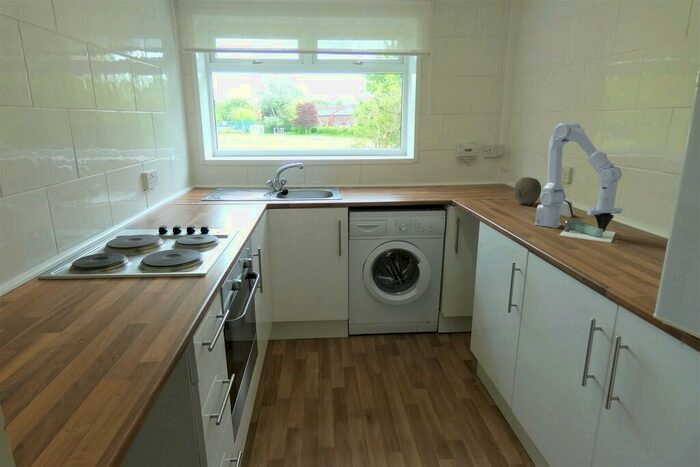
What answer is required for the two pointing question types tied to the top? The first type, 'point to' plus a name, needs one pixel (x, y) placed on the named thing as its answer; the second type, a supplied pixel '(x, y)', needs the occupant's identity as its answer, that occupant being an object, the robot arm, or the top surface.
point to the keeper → (567, 223)
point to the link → (588, 229)
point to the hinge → (566, 209)
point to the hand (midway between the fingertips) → (601, 231)
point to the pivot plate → (588, 235)
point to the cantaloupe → (527, 190)
